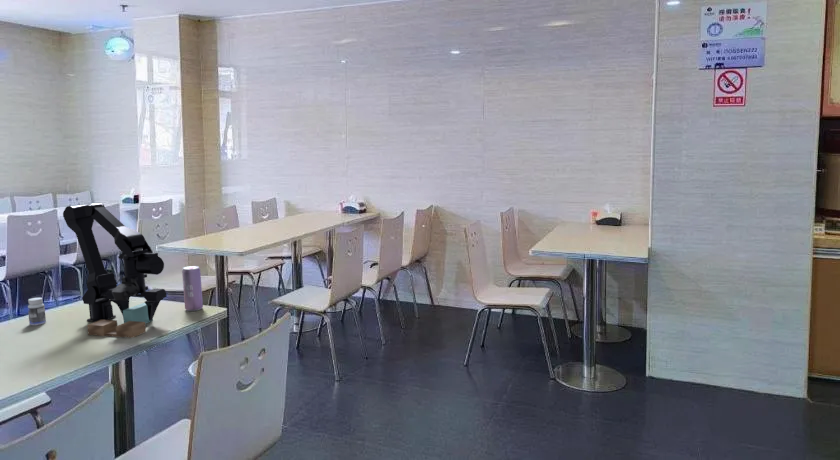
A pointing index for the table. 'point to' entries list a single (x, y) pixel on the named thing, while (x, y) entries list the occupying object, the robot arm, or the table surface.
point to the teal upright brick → (136, 314)
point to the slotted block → (116, 328)
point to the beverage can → (192, 288)
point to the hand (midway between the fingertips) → (138, 319)
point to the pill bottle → (36, 311)
